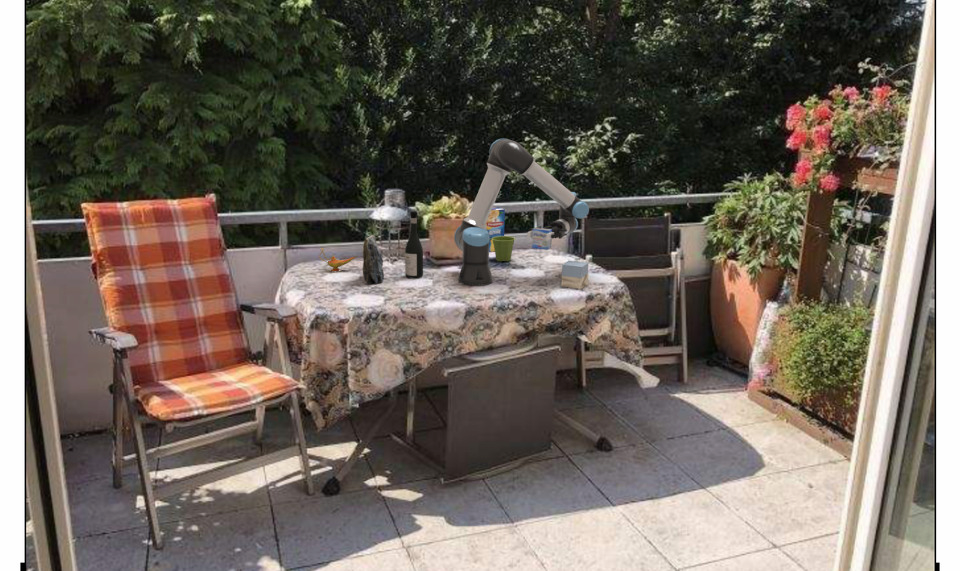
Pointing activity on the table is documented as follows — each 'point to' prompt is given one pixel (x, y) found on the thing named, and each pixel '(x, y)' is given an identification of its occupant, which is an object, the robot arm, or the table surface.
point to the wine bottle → (414, 251)
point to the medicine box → (541, 239)
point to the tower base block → (575, 281)
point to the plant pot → (503, 247)
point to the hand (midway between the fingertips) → (537, 236)
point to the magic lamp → (336, 261)
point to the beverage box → (495, 225)
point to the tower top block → (575, 269)
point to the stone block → (372, 261)
